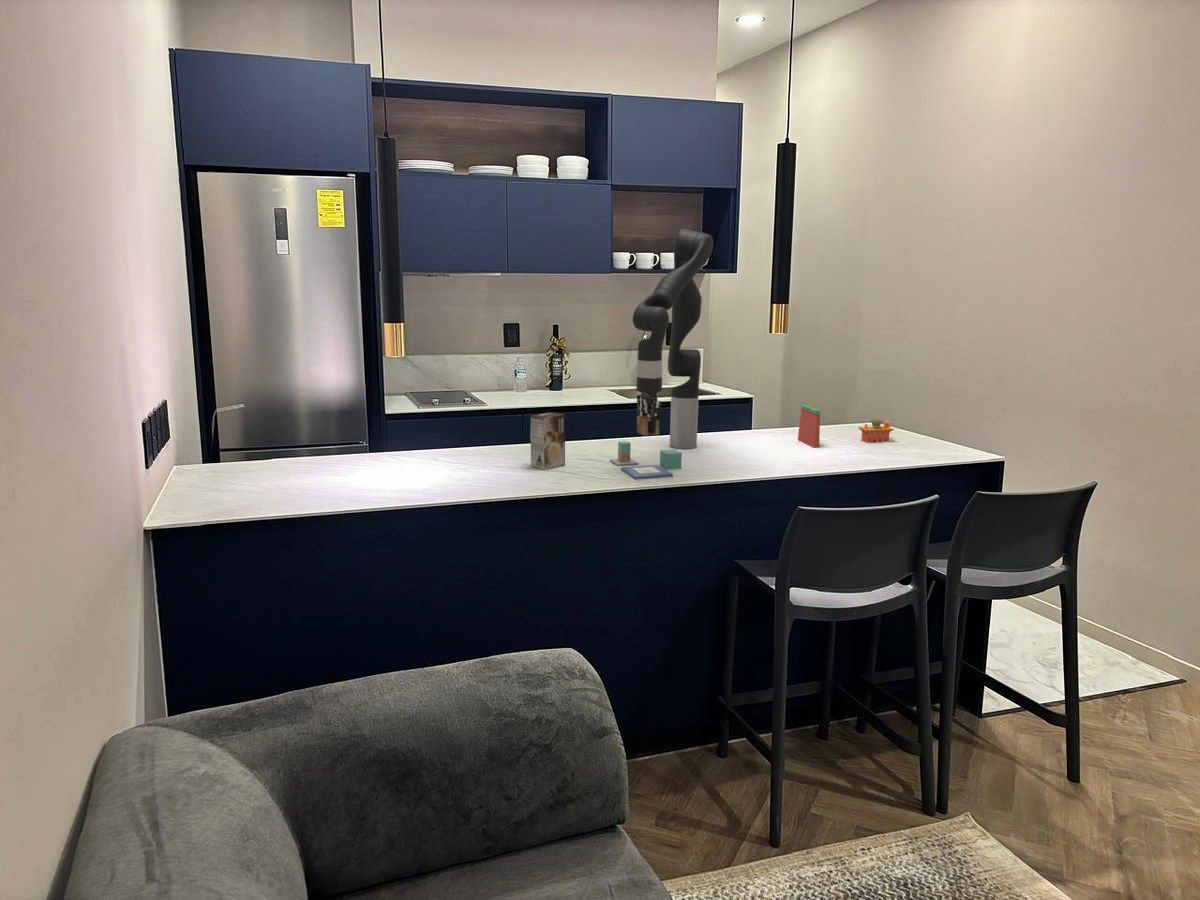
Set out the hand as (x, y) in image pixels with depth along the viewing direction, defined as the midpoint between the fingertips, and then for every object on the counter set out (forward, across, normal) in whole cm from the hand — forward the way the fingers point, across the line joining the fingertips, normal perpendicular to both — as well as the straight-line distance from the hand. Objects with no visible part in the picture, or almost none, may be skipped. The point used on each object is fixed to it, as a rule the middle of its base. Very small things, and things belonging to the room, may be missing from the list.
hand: (648, 431), depth 259 cm
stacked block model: (+13, -14, -2) cm, 19 cm away
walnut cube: (0, 0, 0) cm, 0 cm away
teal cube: (+13, -5, +10) cm, 17 cm away
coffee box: (+13, -17, -26) cm, 34 cm away
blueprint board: (+13, 0, 0) cm, 13 cm away
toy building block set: (+13, -21, +86) cm, 90 cm away
